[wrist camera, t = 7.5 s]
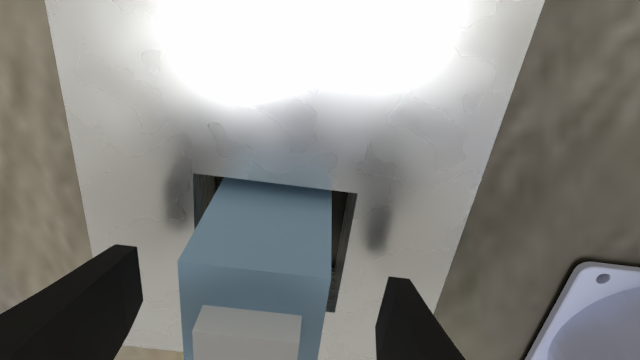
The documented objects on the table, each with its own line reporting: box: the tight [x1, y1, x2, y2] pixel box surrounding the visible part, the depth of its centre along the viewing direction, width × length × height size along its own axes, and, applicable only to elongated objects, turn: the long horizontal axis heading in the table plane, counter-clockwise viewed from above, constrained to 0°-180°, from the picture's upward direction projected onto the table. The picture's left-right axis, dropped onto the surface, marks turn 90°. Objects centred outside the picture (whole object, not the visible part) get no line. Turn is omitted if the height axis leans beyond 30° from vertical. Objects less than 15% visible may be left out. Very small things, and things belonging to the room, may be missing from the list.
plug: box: [177, 177, 332, 360], centre depth 12 cm, size 4×4×7 cm
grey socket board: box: [45, 0, 545, 360], centre depth 11 cm, size 12×22×2 cm, turn 173°
